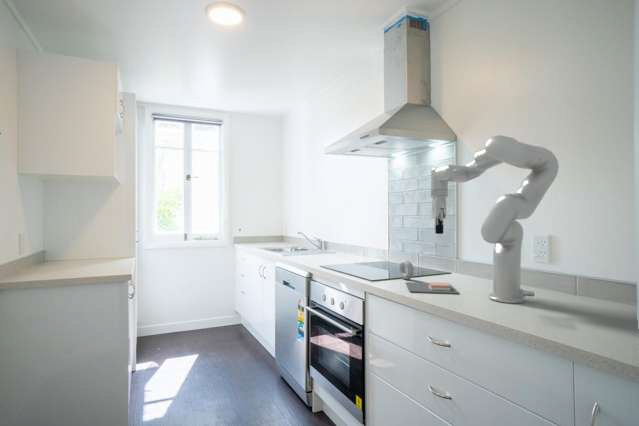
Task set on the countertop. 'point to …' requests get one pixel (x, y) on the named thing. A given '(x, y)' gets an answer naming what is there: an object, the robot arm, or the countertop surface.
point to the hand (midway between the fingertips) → (439, 233)
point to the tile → (439, 286)
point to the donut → (409, 269)
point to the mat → (428, 289)
